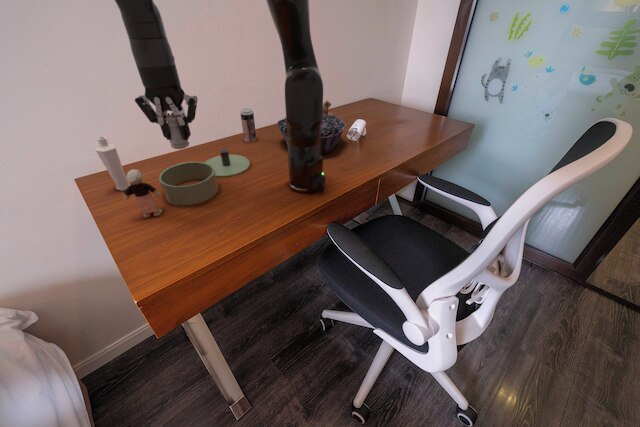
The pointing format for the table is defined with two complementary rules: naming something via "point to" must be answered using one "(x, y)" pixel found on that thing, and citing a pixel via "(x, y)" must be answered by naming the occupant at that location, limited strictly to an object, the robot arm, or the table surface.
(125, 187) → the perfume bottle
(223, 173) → the pot lid
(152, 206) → the grandmother figurine
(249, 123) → the beer can
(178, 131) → the rook chess piece
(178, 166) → the pot
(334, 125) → the decorative bowl
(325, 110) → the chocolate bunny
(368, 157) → the table surface
